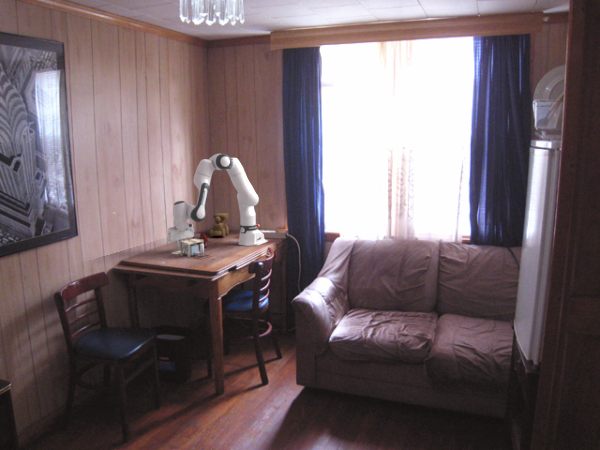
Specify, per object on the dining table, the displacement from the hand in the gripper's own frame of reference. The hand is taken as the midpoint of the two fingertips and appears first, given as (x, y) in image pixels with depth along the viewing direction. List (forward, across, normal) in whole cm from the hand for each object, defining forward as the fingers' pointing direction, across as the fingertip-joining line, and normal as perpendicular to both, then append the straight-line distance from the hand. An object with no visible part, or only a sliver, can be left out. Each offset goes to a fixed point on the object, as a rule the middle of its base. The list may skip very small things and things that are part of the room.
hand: (181, 246), depth 334 cm
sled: (+5, 0, -10) cm, 11 cm away
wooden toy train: (+5, +56, +20) cm, 60 cm away
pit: (+5, 0, -21) cm, 21 cm away
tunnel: (+5, 0, -10) cm, 11 cm away
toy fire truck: (+5, +19, +2) cm, 20 cm away
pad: (+5, 0, +2) cm, 5 cm away
